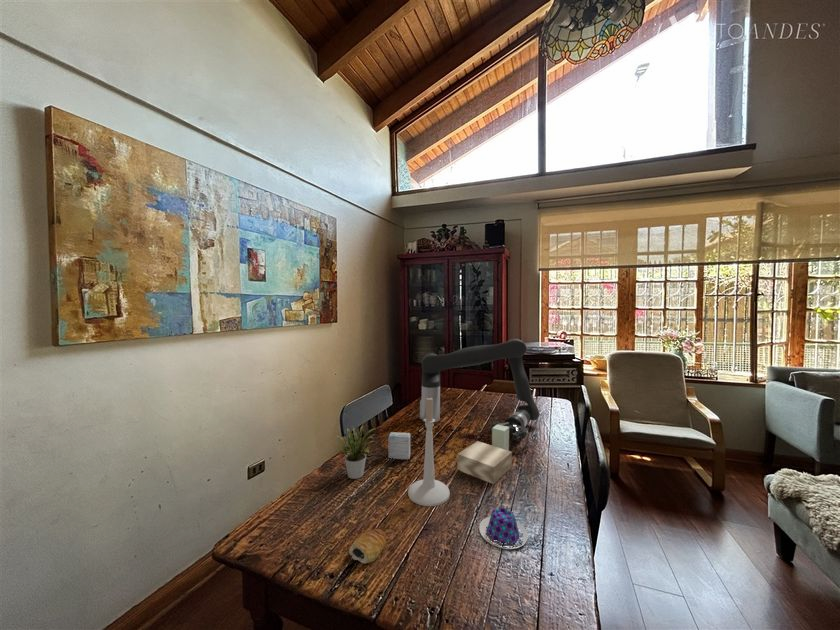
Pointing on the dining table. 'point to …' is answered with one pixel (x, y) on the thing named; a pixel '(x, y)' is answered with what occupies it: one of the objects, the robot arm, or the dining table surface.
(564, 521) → the dining table surface
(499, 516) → the pudding
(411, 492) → the candlestick
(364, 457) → the house plant
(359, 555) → the pastry
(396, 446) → the medicine box
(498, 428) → the pale green block
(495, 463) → the oak block
